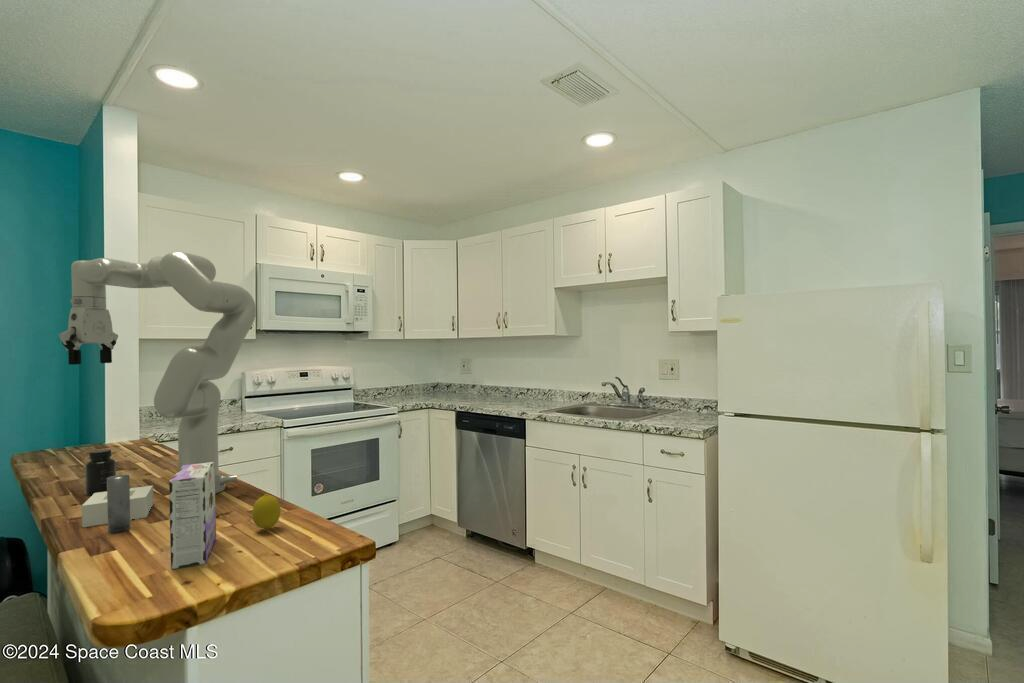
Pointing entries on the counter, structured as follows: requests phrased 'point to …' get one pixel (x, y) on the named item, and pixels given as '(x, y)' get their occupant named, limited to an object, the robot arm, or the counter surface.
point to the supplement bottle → (99, 471)
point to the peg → (118, 503)
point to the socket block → (98, 511)
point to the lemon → (266, 512)
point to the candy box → (192, 515)
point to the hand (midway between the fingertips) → (91, 363)
